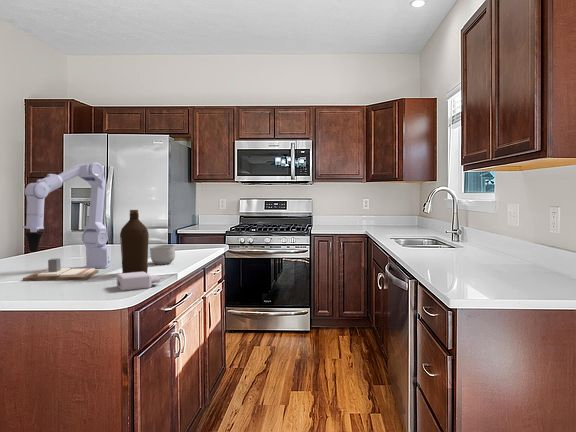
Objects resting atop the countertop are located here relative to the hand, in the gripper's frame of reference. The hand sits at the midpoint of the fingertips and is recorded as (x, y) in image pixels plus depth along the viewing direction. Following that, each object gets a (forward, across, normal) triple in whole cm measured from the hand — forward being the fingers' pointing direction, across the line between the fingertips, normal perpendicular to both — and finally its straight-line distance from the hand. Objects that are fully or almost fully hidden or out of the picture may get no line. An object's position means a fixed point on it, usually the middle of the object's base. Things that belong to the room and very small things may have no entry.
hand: (33, 250), depth 185 cm
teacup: (+6, -17, +51) cm, 54 cm away
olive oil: (+8, +7, +36) cm, 38 cm away
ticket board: (+9, +2, +10) cm, 14 cm away
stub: (+8, +2, +7) cm, 11 cm away
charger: (+10, +34, +35) cm, 50 cm away
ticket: (+8, +4, +15) cm, 18 cm away
